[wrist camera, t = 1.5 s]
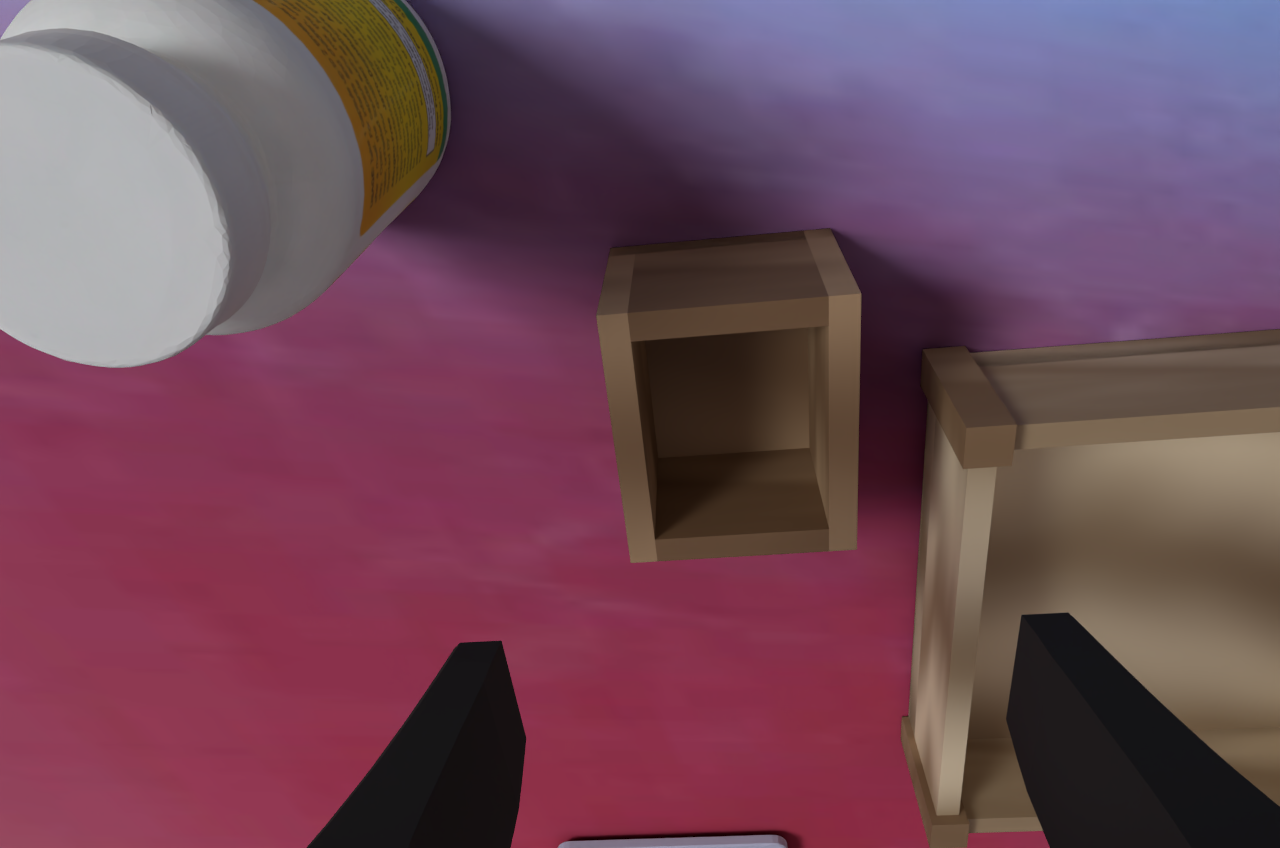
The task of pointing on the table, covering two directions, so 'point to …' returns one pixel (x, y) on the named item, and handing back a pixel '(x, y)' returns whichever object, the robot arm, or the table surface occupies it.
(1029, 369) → the crate
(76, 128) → the supplement bottle
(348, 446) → the table surface
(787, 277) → the small crate
